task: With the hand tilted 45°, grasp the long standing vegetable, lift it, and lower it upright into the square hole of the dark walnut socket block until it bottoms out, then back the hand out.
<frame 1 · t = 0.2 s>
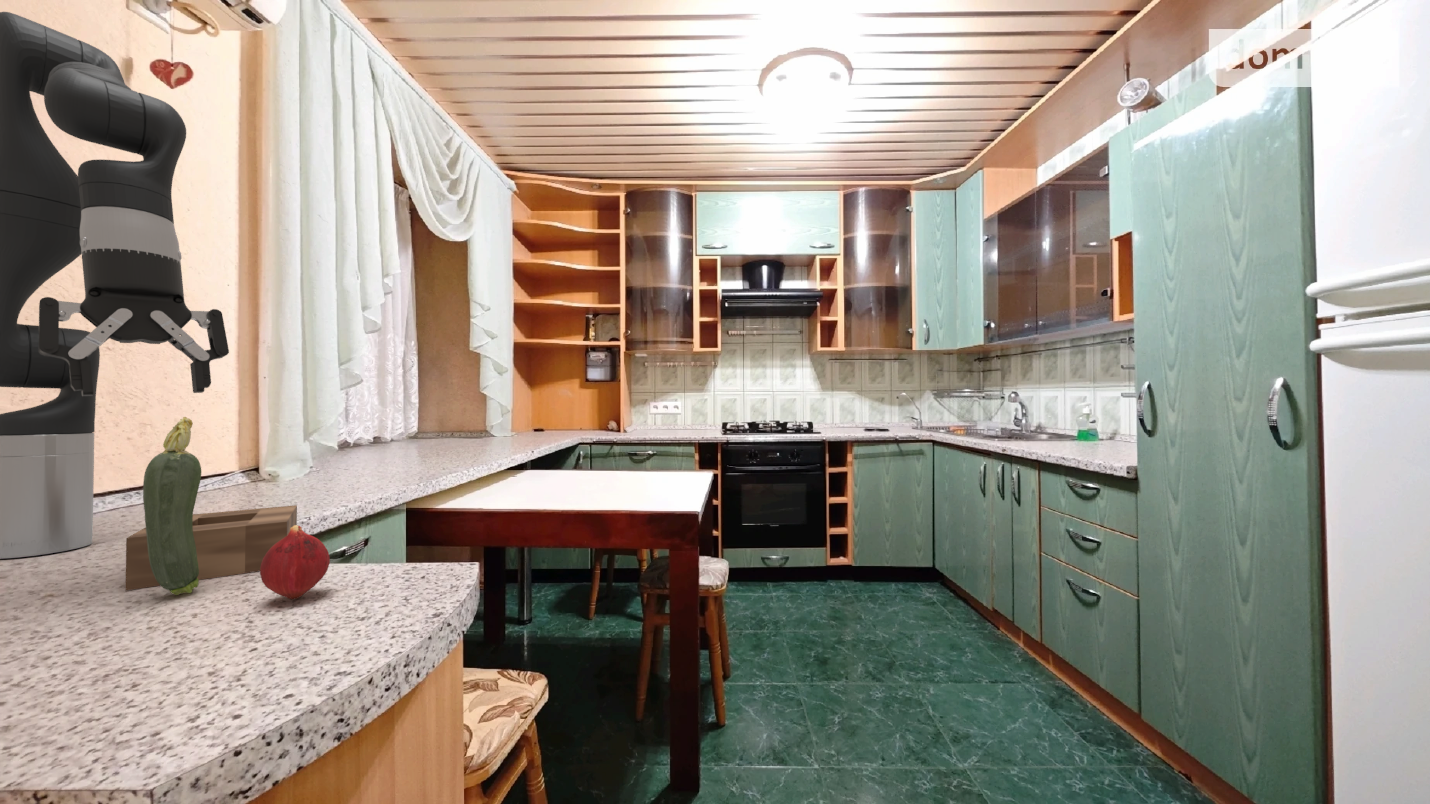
hand: (146, 393, 57), 23 cm above the countertop, tool pointing down, fingers open, 8 cm apart
vegetable: (171, 598, 54), on the countertop
socket block: (223, 563, 66), on the countertop
onion: (295, 600, 54), on the countertop
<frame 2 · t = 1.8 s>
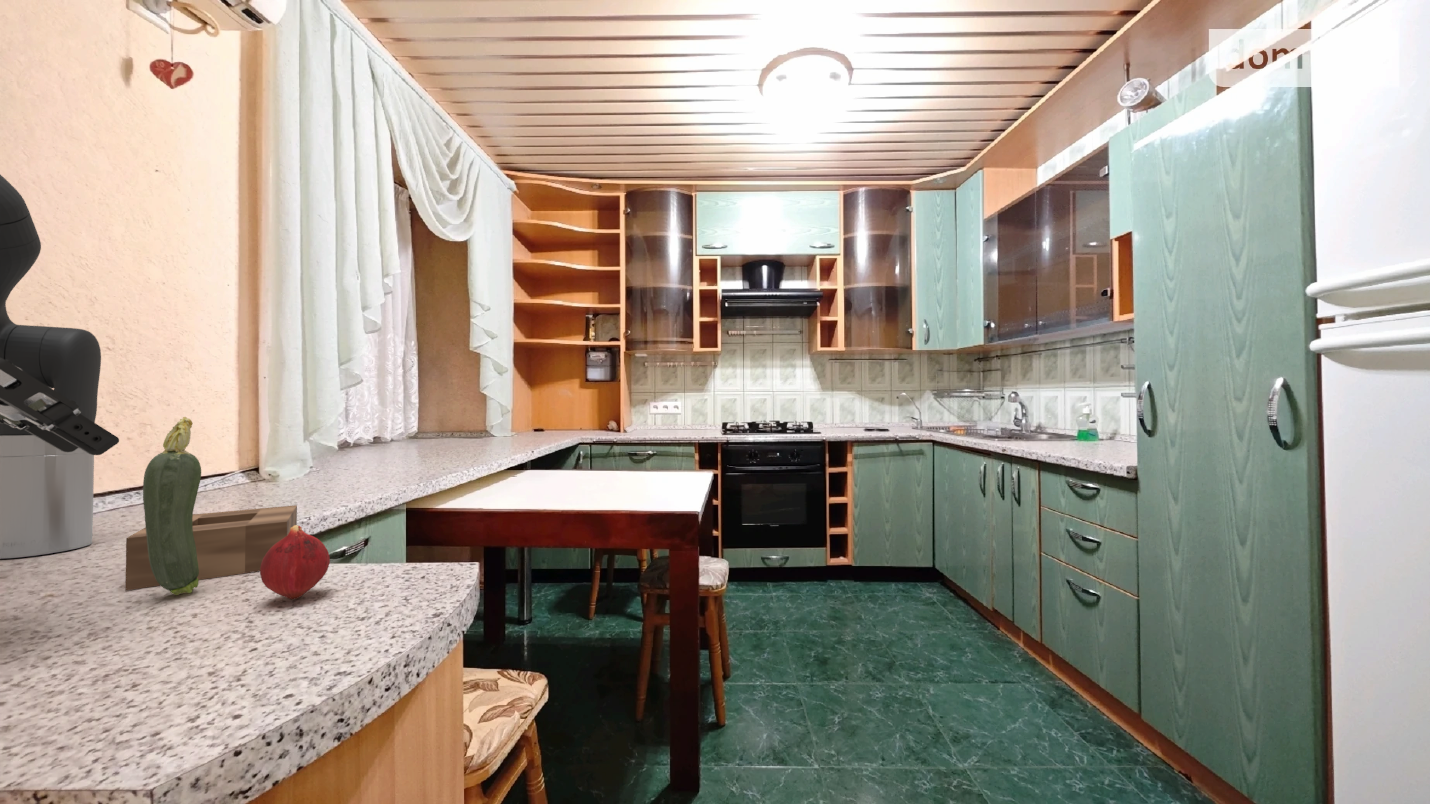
hand: (93, 447, 49), 17 cm above the countertop, tool tilted 45°, fingers open, 8 cm apart
nothing on the countertop moved.
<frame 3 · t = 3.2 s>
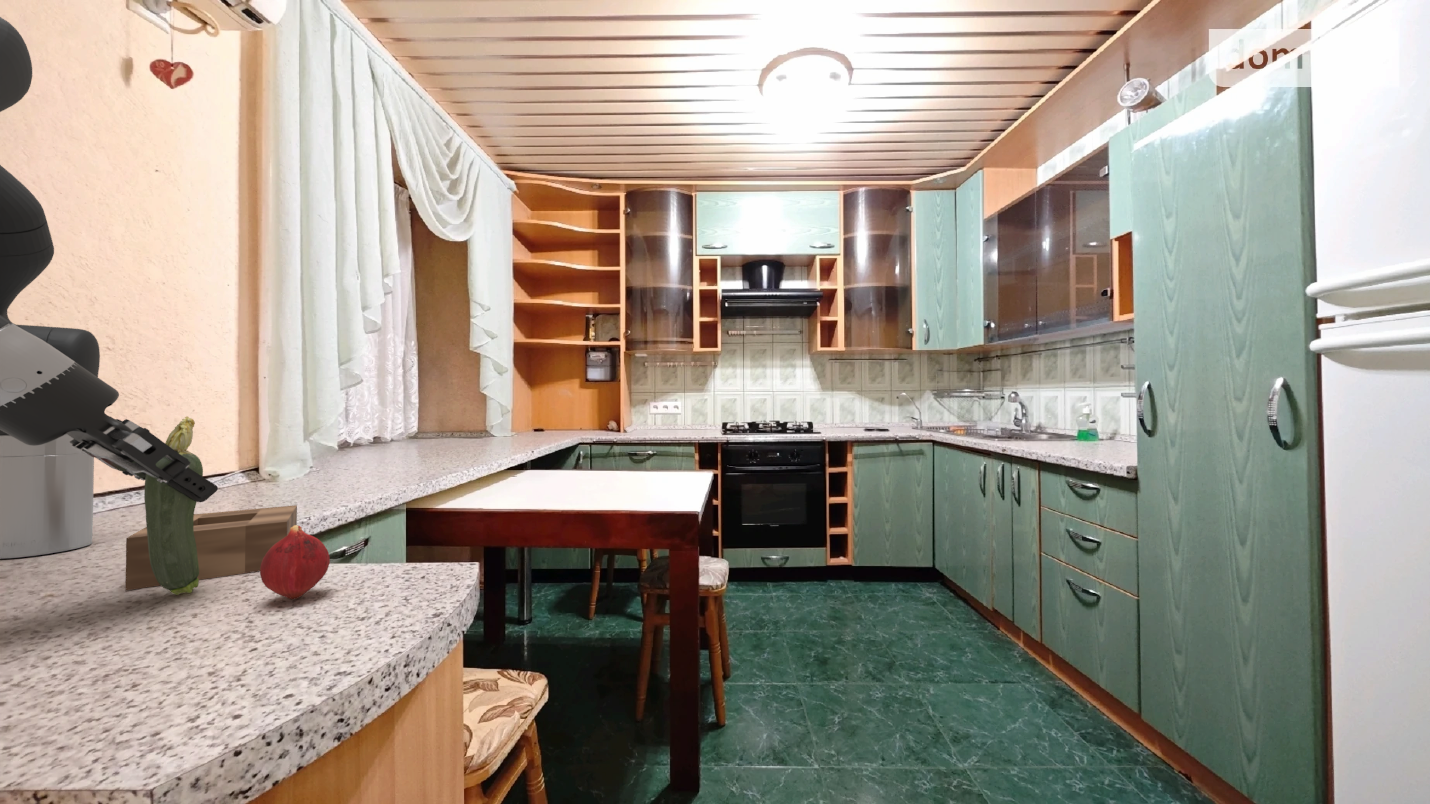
hand: (198, 493, 56), 11 cm above the countertop, tool tilted 45°, fingers closed on vegetable, 4 cm apart
vegetable: (171, 597, 54), on the countertop, touching gripper
everything else where it was.
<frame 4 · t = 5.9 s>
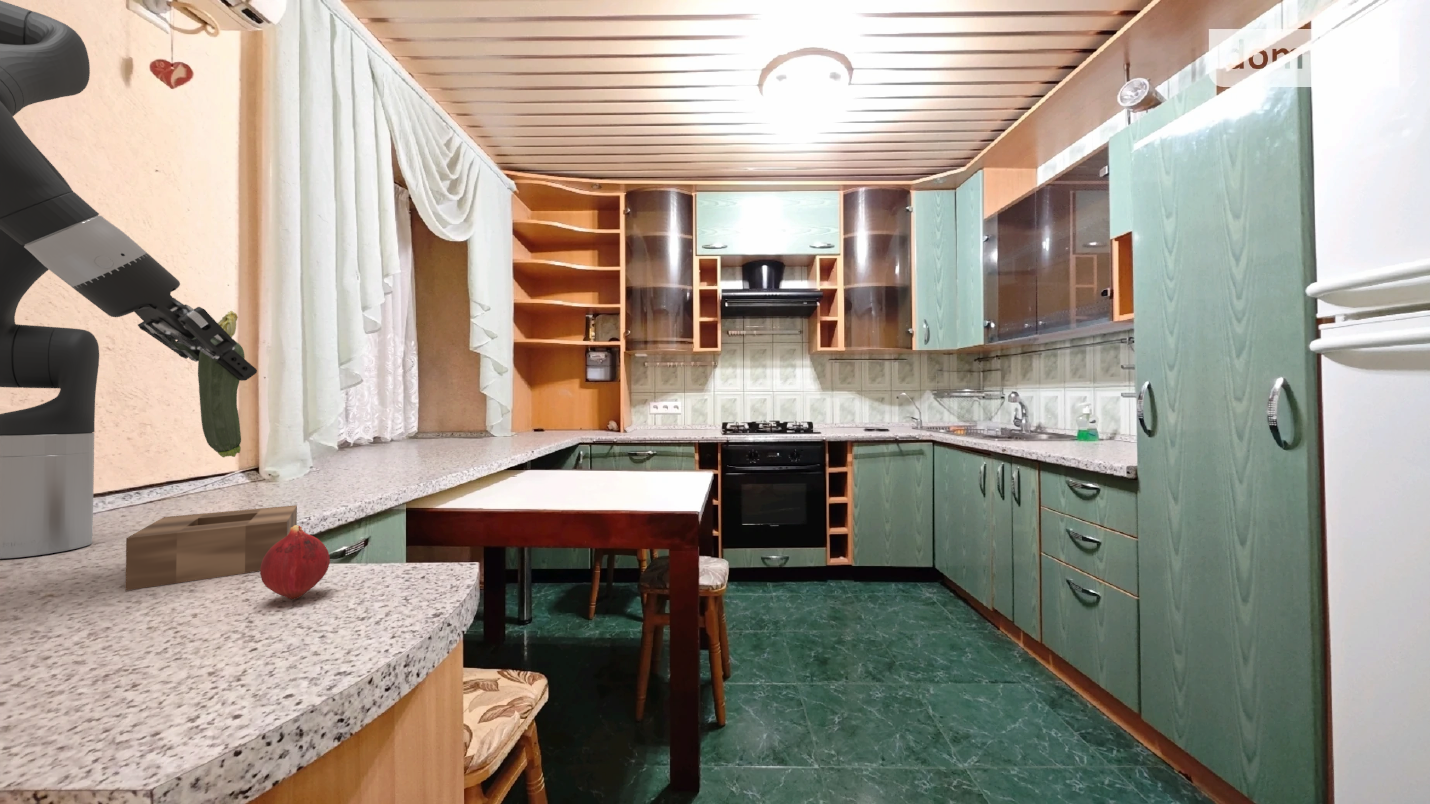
hand: (240, 376, 68), 25 cm above the countertop, tool tilted 45°, fingers closed on vegetable, 4 cm apart
vegetable: (218, 459, 66), point 14 cm above the countertop, touching gripper
everything else where it was.
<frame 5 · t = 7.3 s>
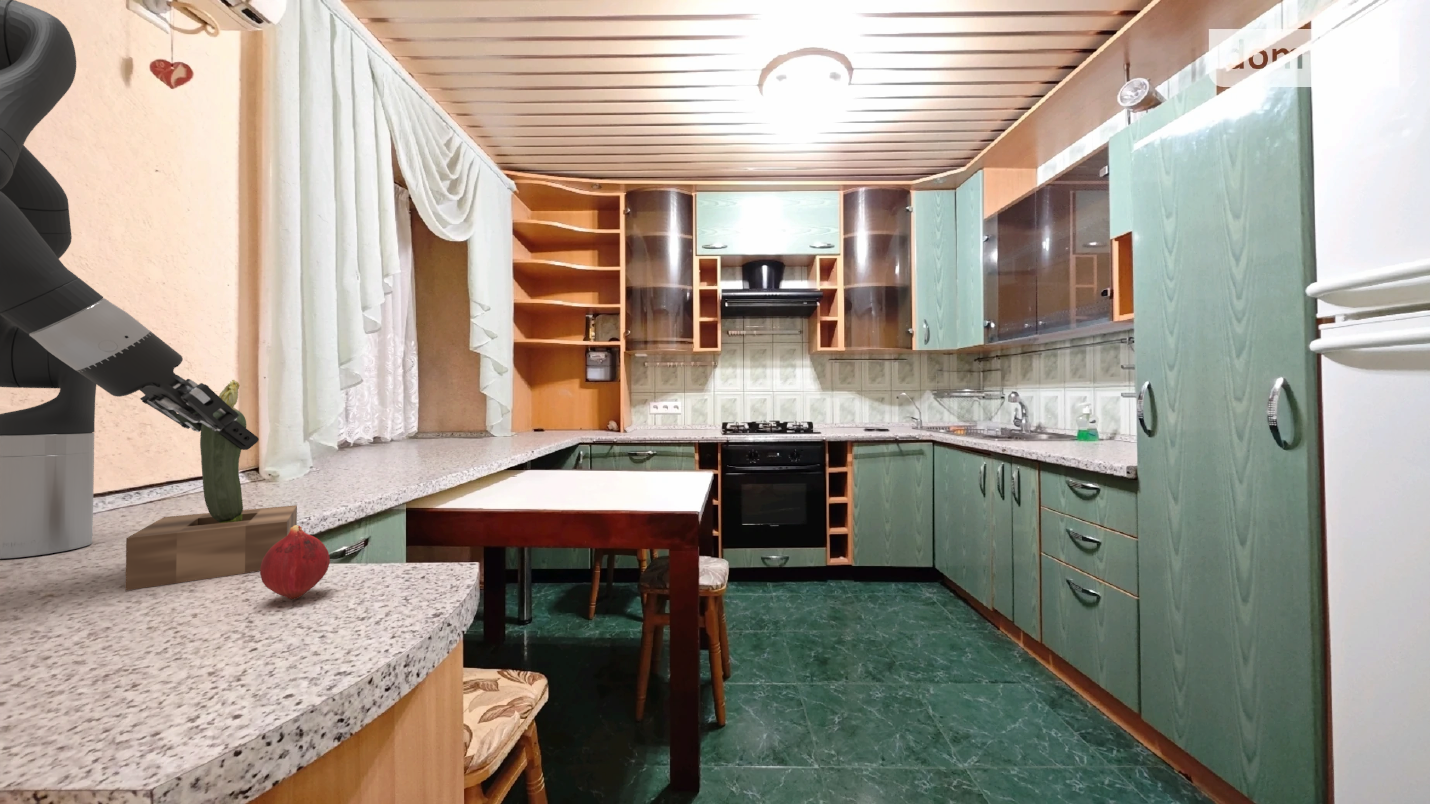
hand: (242, 444, 68), 16 cm above the countertop, tool tilted 45°, fingers closed on vegetable, 4 cm apart
vegetable: (220, 528, 66), point 5 cm above the countertop, touching gripper
everything else where it was.
when the fingers open (13 cm above the countertop, at t = 8.3 s): vegetable drops 2 cm, resting on socket block.
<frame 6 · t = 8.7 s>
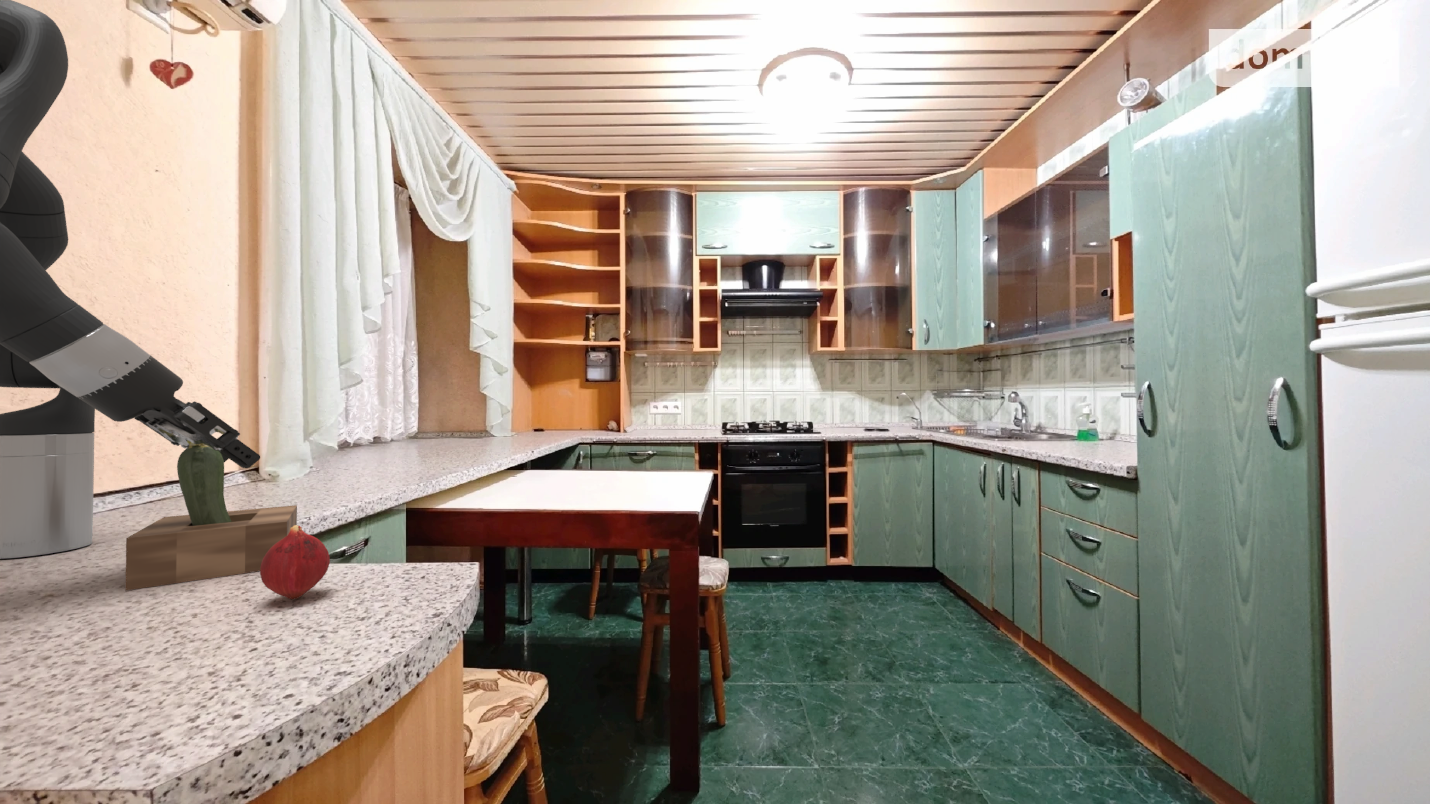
hand: (238, 461, 68), 14 cm above the countertop, tool tilted 45°, fingers open, 8 cm apart
vegetable: (220, 565, 66), resting on socket block
everything else where it was.
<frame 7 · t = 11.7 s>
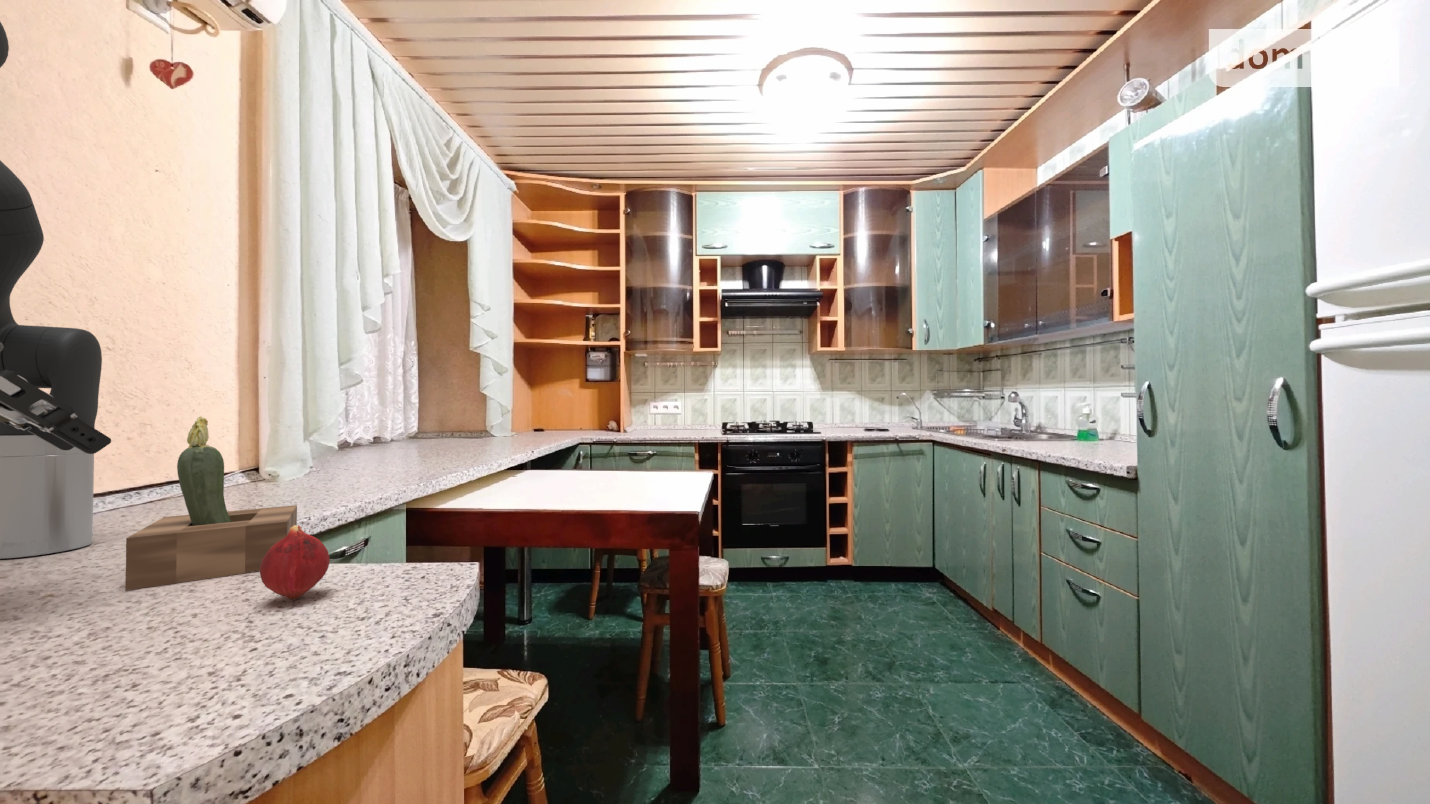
hand: (88, 446, 56), 17 cm above the countertop, tool tilted 45°, fingers open, 8 cm apart
nothing on the countertop moved.
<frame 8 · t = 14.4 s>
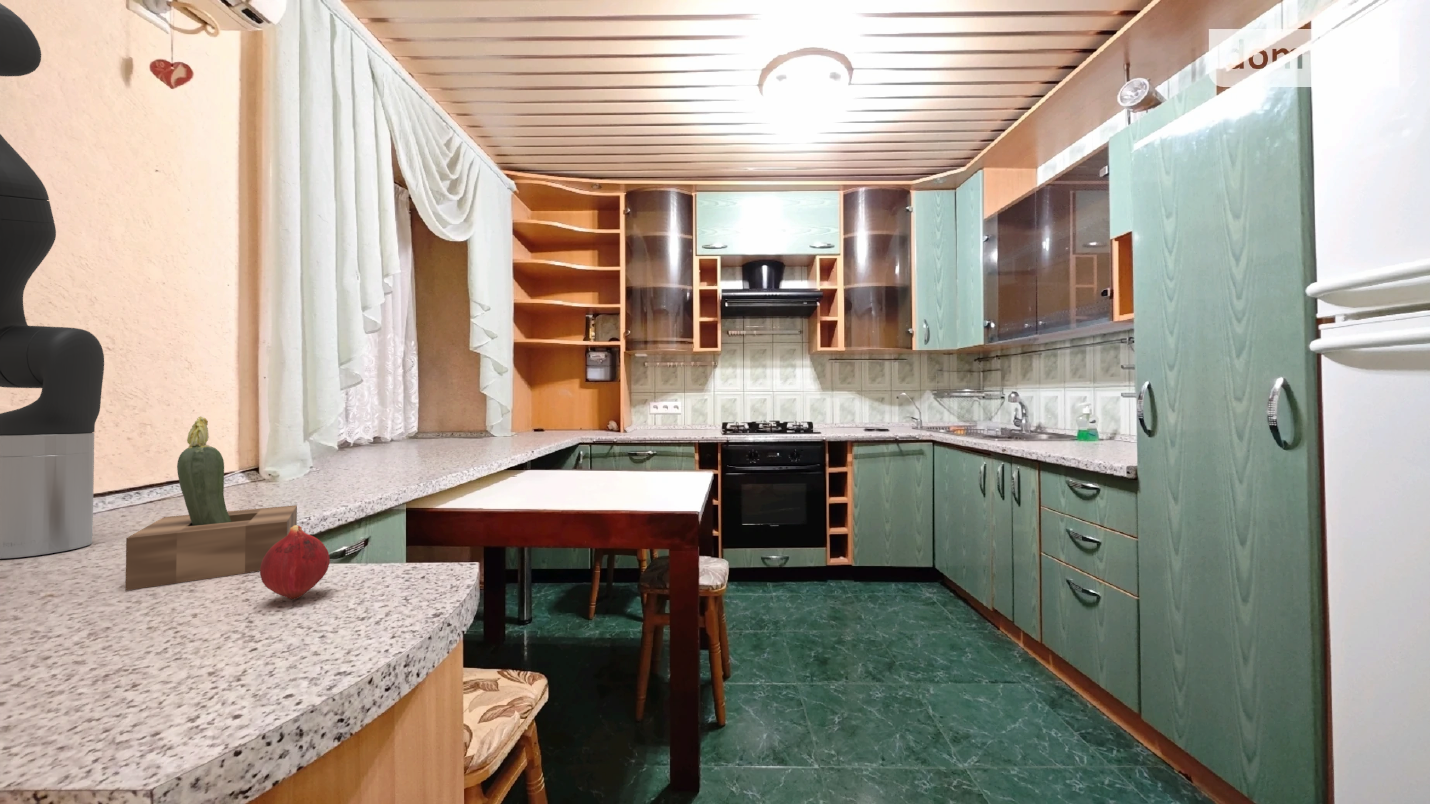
nothing on the countertop moved.
at the end: vegetable 0.3 cm off-centre on the socket block, point 0.0 cm above the socket block's base; vegetable tilted 9°; the gripper is holding nothing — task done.
